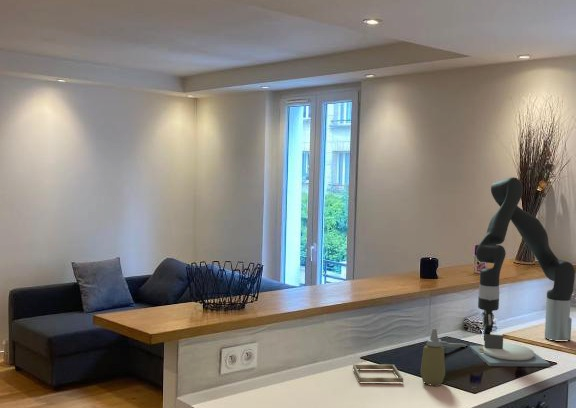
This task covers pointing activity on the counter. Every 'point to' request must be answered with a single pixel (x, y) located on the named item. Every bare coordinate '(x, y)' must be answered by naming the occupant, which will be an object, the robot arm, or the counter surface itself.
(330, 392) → the counter surface
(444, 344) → the caliper
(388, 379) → the bread board rim
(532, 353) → the dial
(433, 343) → the squeeze bottle
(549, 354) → the counter surface
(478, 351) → the dial plate
